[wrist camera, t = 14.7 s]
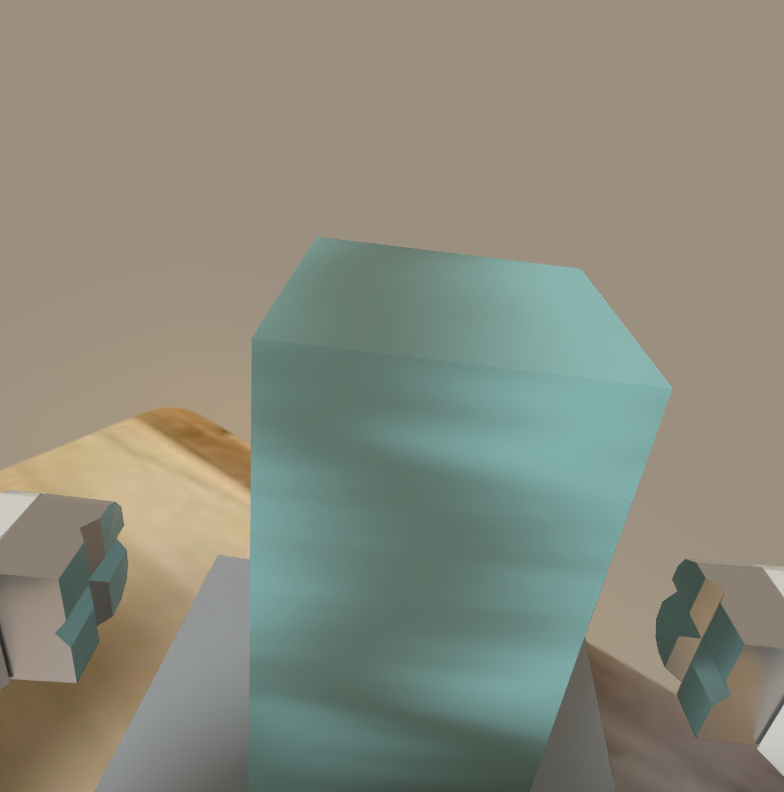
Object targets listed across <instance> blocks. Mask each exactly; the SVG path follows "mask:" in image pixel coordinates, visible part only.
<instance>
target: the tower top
mask: <svg viewBox="0 0 784 792" xmlns="http://www.w3.org/2000/svg"><path fill="white" fill-rule="evenodd" d="M249 673H250V560H246V559H240V558H234V557H228V556H222V555H218V556H217V558H216V560H215V562H214V564H213V566H212V568H211V570H210V571H209V573H208V575H207V577H206V579H205V581H204V583H203V585H202V587H201V589H200V591H199V593H198V594H197V596H196V598H195V600H194V602H193V604H192V606H191V608H190V610H189V612H188V614H187V615H186V617H185V619H184V621H183V623H182V625H181V627H180V629H179V631H178V633H177V635H176V637H175V638H174V640H173V642H172V644H171V646H170V648H169V650H168V652H167V654H166V656H165V658H164V660H163V661H162V663H161V665H160V667H159V669H158V671H157V673H156V675H155V677H154V679H153V681H152V683H151V684H150V686H149V688H148V690H147V692H146V694H145V696H144V698H143V700H142V702H141V704H140V706H139V707H138V709H137V711H136V713H135V715H134V717H133V719H132V721H131V723H130V725H129V727H128V729H127V730H126V732H125V734H124V736H123V738H122V740H121V742H120V744H119V746H118V748H117V750H116V751H115V753H114V755H113V757H112V759H111V761H110V763H109V765H108V767H107V769H106V771H105V773H104V774H103V776H102V778H101V780H100V782H99V784H98V786H97V788H96V790H95V792H249ZM530 792H616V790H615V785H614V780H613V775H612V770H611V765H610V760H609V755H608V750H607V745H606V740H605V735H604V730H603V725H602V720H601V715H600V710H599V705H598V700H597V695H596V690H595V685H594V680H593V675H592V670H591V665H590V660H589V655H588V650H587V645H586V640H585V637H584V640H583V642H582V645H581V648H580V651H579V654H578V656H577V659H576V662H575V665H574V668H573V671H572V673H571V676H570V679H569V682H568V685H567V688H566V690H565V693H564V696H563V699H562V702H561V705H560V707H559V710H558V713H557V716H556V719H555V721H554V724H553V727H552V730H551V733H550V736H549V738H548V741H547V744H546V747H545V750H544V753H543V755H542V758H541V761H540V764H539V767H538V770H537V772H536V775H535V778H534V781H533V784H532V786H531V789H530Z"/></svg>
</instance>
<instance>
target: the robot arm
mask: <svg viewBox="0 0 784 792" xmlns="http://www.w3.org/2000/svg"><path fill="white" fill-rule="evenodd" d="M123 526H124V522H123V515H122V508H121V506H120V505H118V504H117V503H116V502H111V501H103V500H95V499H87V498H79V497H70V496H62V495H54V494H41V493H33V492H25V491H16V490H8V491H6V492H3V493H0V690H2V689H3V688H4V687H5V686H7V685H8V684H9V683H10V679H16V680H33V681H49V682H66V683H77V682H78V680H79V678H80V676H81V674H82V673H83V671H84V669H85V667H86V665H87V663H88V661H89V660H90V658H91V656H92V654H93V652H94V650H95V648H96V647H97V645H98V643H99V638H98V631H97V626H98V625H100V624H101V623H103V622H104V621H106V620H107V619H109V618H110V617H112V616H113V614H114V612H115V610H116V608H117V606H118V604H119V602H120V600H121V598H122V594H123V591H124V587H125V583H126V580H127V569H128V559H127V550H126V548H125V547H124V546H123V545H122V544H121V543H120V542H119V541H118V540H117V539H116V538H117V536H118V535H119V533H120V531H121V530H122V528H123ZM672 580H673V582H674V584H675V586H676V589H677V592H676V593H675V594H673V595H672V596H670V597H669V598H667V599H666V600H664V601H663V602H662V605H661V608H660V610H659V613H658V616H657V619H656V641H657V646H658V651H659V654H660V656H661V659H662V661H663V664H664V666H665V668H666V669H668V670H669V671H670V672H671V673H672V674H673V675H674V676H675V677H676V678H678V679H679V680H680V681H681V685H680V688H679V690H678V693H677V696H678V699H679V701H680V703H681V705H682V708H683V710H684V712H685V715H686V717H687V719H688V721H689V724H690V726H691V728H692V731H693V733H694V735H695V737H696V738H697V739H705V740H714V741H722V742H731V743H739V744H748V745H756V746H758V748H757V749H758V750H759V751H760V752H761V753H762V754H763V756H764V757H765V758H766V759H767V760H768V761H769V762H770V763H771V764H772V765H773V766H774V767H775V768H776V769H777V770H778V771H779V772H780V773H781V774H782V775H783V776H784V567H780V566H768V565H745V564H734V563H723V562H713V561H702V560H691V559H685V560H684V561H683V562H682V563H681V564H680V565H679V566H678V567H677V569H676V572H675V574H674V576H673V579H672Z"/></svg>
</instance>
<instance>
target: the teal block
mask: <svg viewBox="0 0 784 792" xmlns="http://www.w3.org/2000/svg"><path fill="white" fill-rule="evenodd" d="M671 391H672V387H671V386H670V385H669V383H668V382H667V381H666V379H665V378H664V377H663V376H662V374H661V373H660V372H659V370H658V369H657V368H656V366H655V365H654V364H653V362H652V361H651V360H650V359H649V357H648V356H647V355H646V353H645V352H644V351H643V349H642V348H641V347H640V346H639V344H638V343H637V342H636V340H635V339H634V338H633V337H632V335H631V334H630V332H629V331H628V330H627V329H626V328H625V326H624V325H623V323H622V322H621V321H620V320H619V318H618V317H617V316H616V314H615V313H614V312H613V310H612V309H611V308H610V306H609V305H608V304H607V303H606V301H605V300H604V299H603V297H602V296H601V295H600V294H599V292H598V291H597V289H596V288H595V287H594V286H593V284H592V283H591V282H590V280H589V279H588V278H587V276H586V275H585V274H584V272H583V271H582V270H581V269H578V268H569V267H562V266H553V265H545V264H537V263H528V262H520V261H512V260H504V259H496V258H486V257H479V256H471V255H462V254H454V253H446V252H437V251H429V250H420V249H413V248H405V247H395V246H388V245H380V244H372V243H363V242H355V241H347V240H339V239H330V238H322V237H316V239H315V240H314V242H313V243H312V245H311V247H310V248H309V249H308V251H307V253H306V254H305V256H304V257H303V259H302V260H301V262H300V264H299V265H298V267H297V268H296V270H295V271H294V273H293V275H292V276H291V278H290V279H289V281H288V283H287V284H286V286H285V287H284V289H283V290H282V292H281V293H280V295H279V296H278V298H277V300H276V301H275V303H274V304H273V306H272V307H271V309H270V311H269V312H268V314H267V315H266V317H265V318H264V320H263V322H262V323H261V325H260V326H259V328H258V329H257V331H256V333H255V334H254V336H253V337H252V398H251V399H252V400H251V402H252V403H251V406H252V407H251V535H250V673H249V792H530V789H531V786H532V784H533V781H534V778H535V775H536V772H537V770H538V767H539V764H540V761H541V758H542V755H543V753H544V750H545V747H546V744H547V741H548V738H549V736H550V733H551V730H552V727H553V724H554V721H555V719H556V716H557V713H558V710H559V707H560V705H561V702H562V699H563V696H564V693H565V690H566V688H567V685H568V682H569V679H570V676H571V673H572V671H573V668H574V665H575V662H576V659H577V656H578V654H579V651H580V648H581V645H582V642H583V640H584V637H585V634H586V631H587V628H588V625H589V623H590V620H591V617H592V614H593V611H594V608H595V606H596V603H597V600H598V597H599V594H600V591H601V588H602V585H603V583H604V580H605V577H606V574H607V571H608V569H609V566H610V563H611V560H612V558H613V555H614V552H615V549H616V546H617V543H618V540H619V538H620V535H621V532H622V529H623V526H624V524H625V521H626V518H627V515H628V512H629V510H630V507H631V504H632V501H633V498H634V495H635V493H636V490H637V487H638V484H639V481H640V478H641V475H642V473H643V470H644V467H645V464H646V461H647V458H648V456H649V453H650V450H651V447H652V445H653V441H654V439H655V436H656V433H657V430H658V428H659V425H660V422H661V419H662V416H663V413H664V410H665V408H666V405H667V402H668V399H669V396H670V394H671Z"/></svg>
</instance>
